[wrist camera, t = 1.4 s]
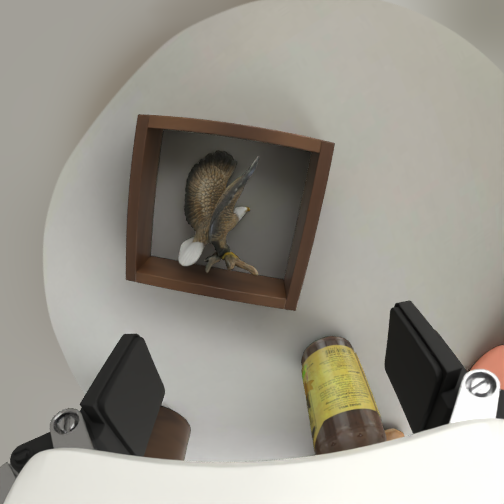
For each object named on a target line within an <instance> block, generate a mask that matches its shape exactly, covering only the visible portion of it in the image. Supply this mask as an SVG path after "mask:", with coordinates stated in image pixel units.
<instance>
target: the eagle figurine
mask: <svg viewBox="0 0 504 504" xmlns="http://www.w3.org/2000/svg"><path fill="white" fill-rule="evenodd" d="M258 160H259V156H258V157H257V158H256V159H255V160H254V161H253V163H252V164H251V166H250V167H249V169H248V170H247V171H246V173H245V174H243V175H242V176H241V177H239V178H238V179H236V180H235V181H234V182H233V183H231V184H230V185H229V186H228V187H227V188H226V185H227V182H228V180H229V178H230V177H231V175H232V173H233V171H234V169H235V168H236V165H237V161H236V160H233V157H232V156H231V155H229V156H227V153H226V152H225V151H223V152H220V151H216V152H215V153H214V154H211V153H210V154H208V155H207V156H206V158H205V160H203V159H201V160H200V161H199V163H198V164H195V165H194V167H193V168H192V170H191V172H190V173H189V177H188V179H187V185H186V194H185V205H184V207H185V208H184V211H185V215H186V220H187V221H188V224H190V225H191V227H192V228H194V231H195V232H196V234H195V236H194V237H192V238H190V239H188V240H186V241H184V242H183V243H182V245H181V247H180V253H179V256H178V258H179V263H180V264H181V265H182V266H189V265H192V264H194V263H195V262H197V260H198V259H199V258H200V256H201V254H202V251H203V248H204V247H205V246H206V245H207V244H208V243H212V244H213V245H214V247H215V250H216V252H215V253H214V254H212V255H211V256H209V257H207V258H206V259H205V262H208V264H207V266H206V269H205V270H206V272H207V273H208V272H209V270H210V268H211V266H212V265H213V264H215V263H217V262H219V261H220V260H221V259H222V260H225V263H226V266H227V269H228V270H232V269H233V268H234V267H235V266H237V267H240V268H243V269H245V270H247V271H249V272H250V273H251V274H253V275H256V276H257V275H258V272H257V270H256V269H255V268H254V266H251V265H249V264H247V263H246V262H244V261H241V260H240V259H239V257H238V256H236V255H235V254H234V253H233V252H231V251H230V248H229V246H228V245H227V244H226V235H227V233H228V232H229V231H230V230H232V229H233V228H234V227H235V226H236V224H237V223H238V222H239V220H240V219H241V218H242V217H243V216H244V215H245V213H246V212H247V211H250V208H248V207H237V208H235V209H234V206H235V203H236V201H237V199H238V198H239V196H240V194H241V193H242V191H243V189H244V186H245V184H246V182H247V180H248V179H249V178H250V176H251V175H252V173H253V172H254V170H255V169H256V166H257V162H258Z"/></svg>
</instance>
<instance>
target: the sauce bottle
mask: <svg viewBox="0 0 504 504" xmlns="http://www.w3.org/2000/svg"><path fill="white" fill-rule="evenodd" d="M301 363H302V378H303V384H304V389H305V395H306V401H307V408H308V413H309V420H310V426H311V433H312V439H313V446H314V451H315V454H316V455H321V454H328V453H334V452H340V451H345V450H350V449H355V448H360V447H365V446H369V445H373V444H377V443H382V442H386V440H387V439H386V433H385V430H384V428H383V425H382V423H381V416H380V413H379V411H378V408H377V405H376V402H375V400H374V397H373V394H372V392H371V389H370V387H369V384H368V381H367V379H366V376H365V374H364V371H363V369H362V366H361V364H360V361H359V359H358V356H357V354H356V353H354V350H353V347H352V346H351V344H350V342H349V341H348V340H346V339H344V338H341V337H336V336H329V337H324V338H322V339H319V340H317V341H315V342H313V343H312V344H311V345H310V346H309V347H307V348H306V350H305V351H304V354H303V357H302V360H301Z"/></svg>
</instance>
